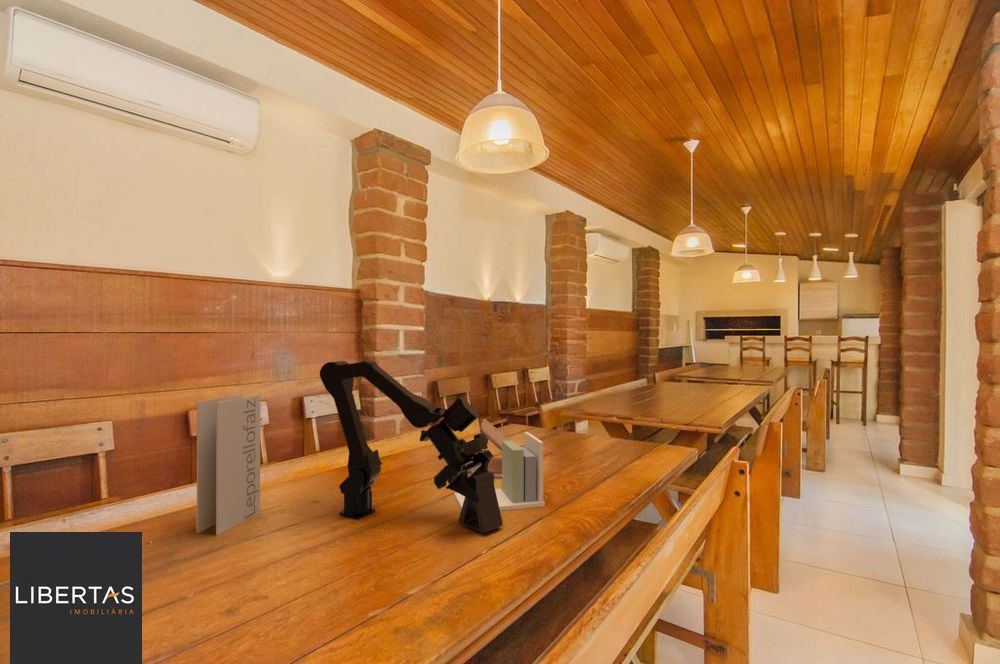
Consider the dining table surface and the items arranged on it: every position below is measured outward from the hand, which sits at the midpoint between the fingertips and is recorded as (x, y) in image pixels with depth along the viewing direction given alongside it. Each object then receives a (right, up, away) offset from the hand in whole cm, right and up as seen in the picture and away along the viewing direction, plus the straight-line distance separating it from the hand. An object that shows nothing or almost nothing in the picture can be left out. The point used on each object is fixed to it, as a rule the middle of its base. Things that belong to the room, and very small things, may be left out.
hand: (485, 497), depth 114 cm
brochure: (-62, -7, +3) cm, 63 cm away
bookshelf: (+3, -7, +19) cm, 20 cm away
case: (+2, -8, +49) cm, 50 cm away
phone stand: (-1, -7, +1) cm, 7 cm away
